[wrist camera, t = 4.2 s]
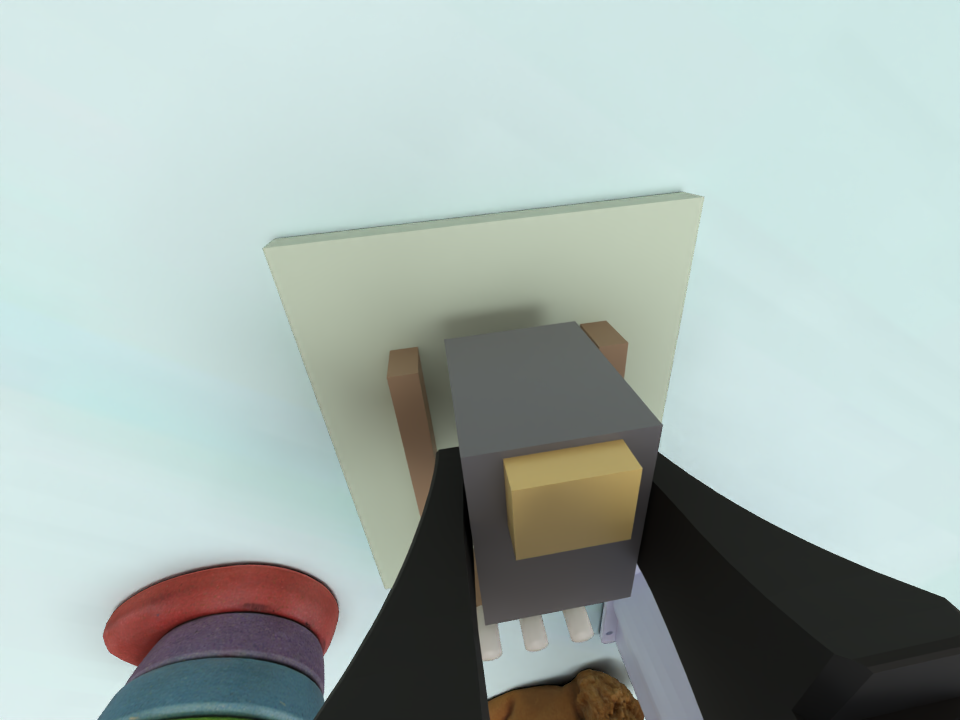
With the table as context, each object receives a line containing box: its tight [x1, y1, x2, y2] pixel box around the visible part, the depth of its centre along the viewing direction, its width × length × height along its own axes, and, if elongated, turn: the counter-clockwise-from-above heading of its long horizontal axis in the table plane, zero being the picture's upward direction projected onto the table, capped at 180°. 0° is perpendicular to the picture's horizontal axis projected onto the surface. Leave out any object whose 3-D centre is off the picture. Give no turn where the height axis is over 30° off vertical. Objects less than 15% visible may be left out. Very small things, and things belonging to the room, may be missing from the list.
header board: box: [263, 192, 704, 661], centre depth 16 cm, size 18×14×6 cm
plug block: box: [444, 321, 663, 626], centre depth 11 cm, size 6×4×6 cm, turn 5°
